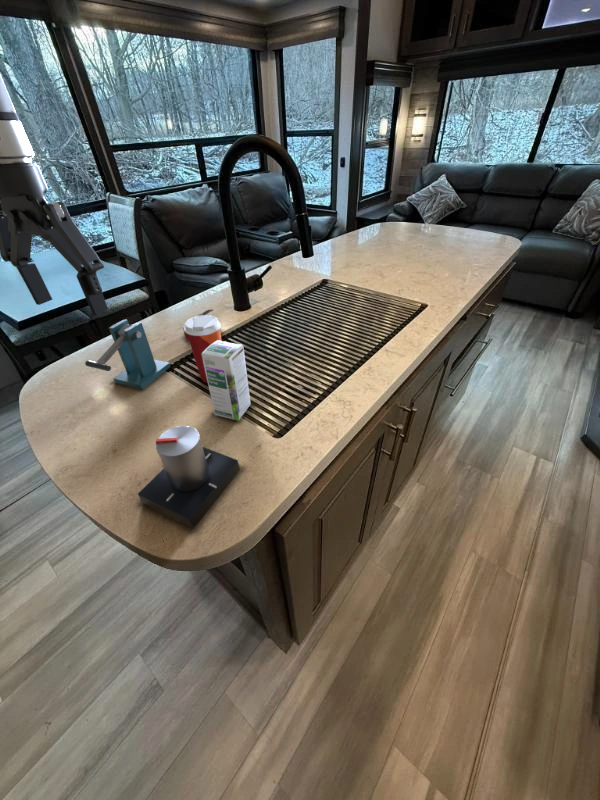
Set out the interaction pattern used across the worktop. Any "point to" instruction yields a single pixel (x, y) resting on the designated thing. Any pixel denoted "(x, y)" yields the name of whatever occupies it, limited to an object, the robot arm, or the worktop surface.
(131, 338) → the teal lever stand
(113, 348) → the lever
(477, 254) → the worktop surface
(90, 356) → the worktop surface
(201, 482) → the dial
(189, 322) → the paper cup
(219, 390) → the syrup box
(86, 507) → the worktop surface
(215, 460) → the control panel
